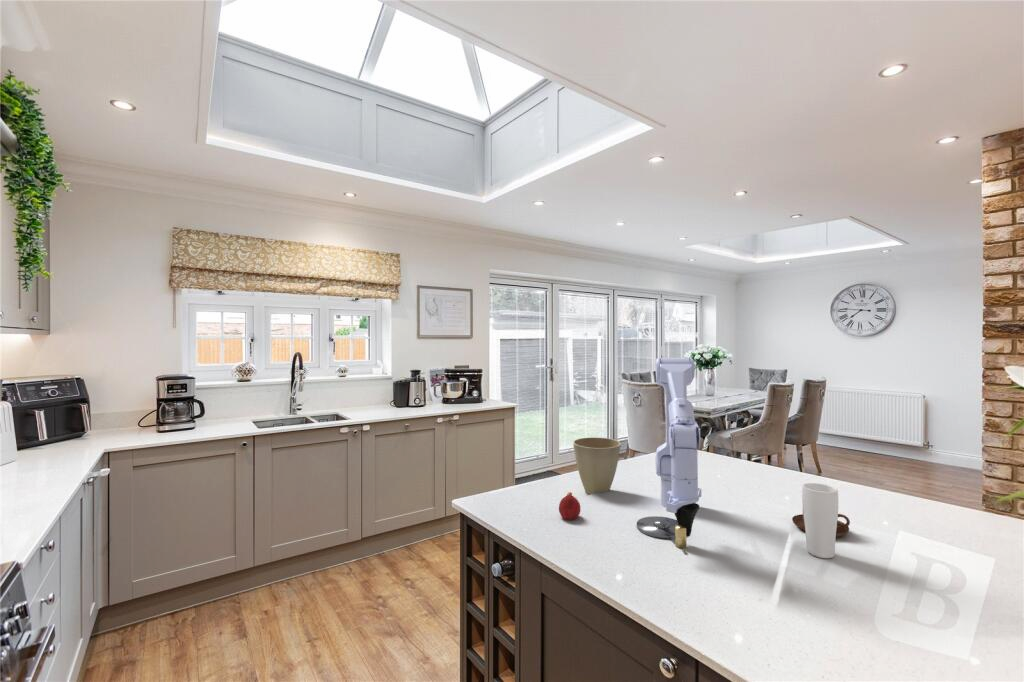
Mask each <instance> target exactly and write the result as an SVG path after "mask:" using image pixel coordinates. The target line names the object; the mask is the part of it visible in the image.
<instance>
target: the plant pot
mask: <svg viewBox="0 0 1024 682" xmlns="http://www.w3.org/2000/svg"><path fill="white" fill-rule="evenodd" d="M572 445H573V452H574V456H575V457H574V458H575V461H576V466H577V471H578V474H579V478H580V481H581V483H582V486H583V490H584V491H585V493H586V494H588V495H592V494H593V493H605V492H609V491H610V490H611V487H612V485H613V481H614V479H615V475H616V472H617V468H618V463H619V458H620V452H621V442H620V441H619V440H616V439H614V438H613V439H612V438H608V437H595V436H594V437H593V436H592V437H590V436H589V437H580V438H576V439H574V440H573V441H572Z"/></svg>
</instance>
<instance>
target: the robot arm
mask: <svg viewBox="0 0 1024 682" xmlns="http://www.w3.org/2000/svg"><path fill="white" fill-rule="evenodd" d="M695 365H696V364H695V361H694V359H693V357H691V356H690V357H659V356H658V357H657V358H656V359H655V382H656V385H658V386H660V387H663V390H664V393H665V394H664V395H665V398H664V399H665V401H664V402H665V406H664V409H665V442H664V443H663V444H660V445H659V446H658V447H657V449H656V450H655V473H656V475H657V476H658V477H660V505H661V506H662V507H664V508H666V512H668V513H672V514H674V515H675V518H676V519H675V520H677V522H678V525H684V526H686V537H691V534H692V529H693V524H694V520H695V517H696V515H697V513H698V511H699V510H700V504H698V502H699V500H700V498H701V497H702V488H701V487H698V486H699V478H698V477H699V473H698V472H699V471H698V467H699V466H698V465H699V464H698V460H699V459H698V456H699V455H698V453H699V452H698V451H700V448H701V433H700V428H699V425H698V421H696V418H695V412H694V405H693V404H692V402H691V401H690V400H689V399H688V393H687V391H688V389H687V387H688V386H690V385H691V384H692V382H693V380H694V379H695V375H696V374H695V373H696V371H695V369H696V366H695Z"/></svg>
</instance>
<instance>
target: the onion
mask: <svg viewBox="0 0 1024 682" xmlns="http://www.w3.org/2000/svg"><path fill="white" fill-rule="evenodd" d="M581 510H582V509H581V504H580V502H579V500H578V499H577V498H576V497H575V496H574V495H573V493H572V492H571V491H569V492H567V494H566V495H565V496H564V497H563V498H561V500H560V502H559V504H558V513H559V514H560V517H561V518H562V519H563V520H567V521H574V520H576V519H577V518H578V517H579V515H581Z"/></svg>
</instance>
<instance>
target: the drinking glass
mask: <svg viewBox="0 0 1024 682" xmlns="http://www.w3.org/2000/svg"><path fill="white" fill-rule="evenodd" d="M801 493H802V495H801V499H802V502H801V503H802V514H803V513H804V522H805V539H806V540H805V541H806V548H805V549H806V551H807V552H808V553H809V554H810V555H812V556H814V557H817V558H821V559H832V558H834V557H835V555H836V540H837V539H836V538H837V536H836V529H837V520H838V518H839V517H838V514H839V490H838V489H837V488H836V487H835V486H831V485H828V484H824V483H818V482H807V483H806V482H805V483H804V484H802V491H801Z"/></svg>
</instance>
